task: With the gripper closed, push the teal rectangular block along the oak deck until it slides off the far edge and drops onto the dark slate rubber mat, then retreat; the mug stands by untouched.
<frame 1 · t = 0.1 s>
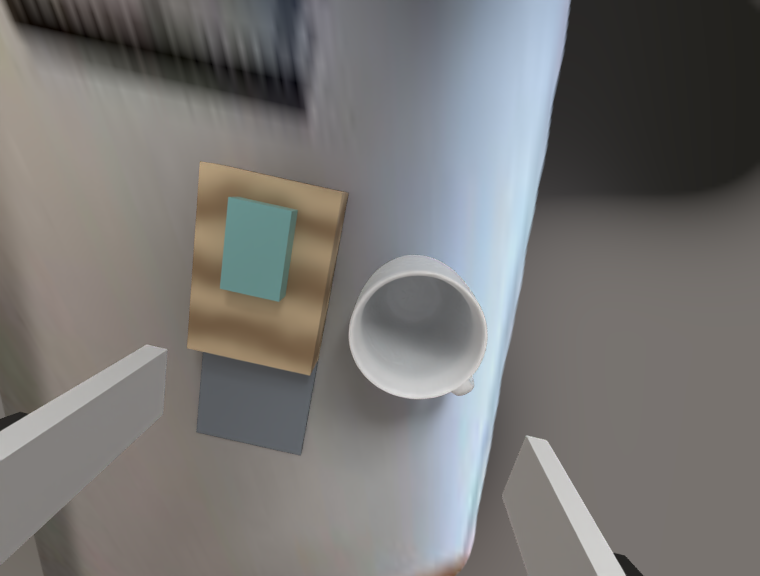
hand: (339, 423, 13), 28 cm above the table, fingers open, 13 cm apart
teal rectangular block: (262, 248, 36), point 4 cm above the table, touching deck
deck: (272, 268, 40), on the table
mat: (255, 396, 45), on the table
mug: (417, 299, 41), on the table
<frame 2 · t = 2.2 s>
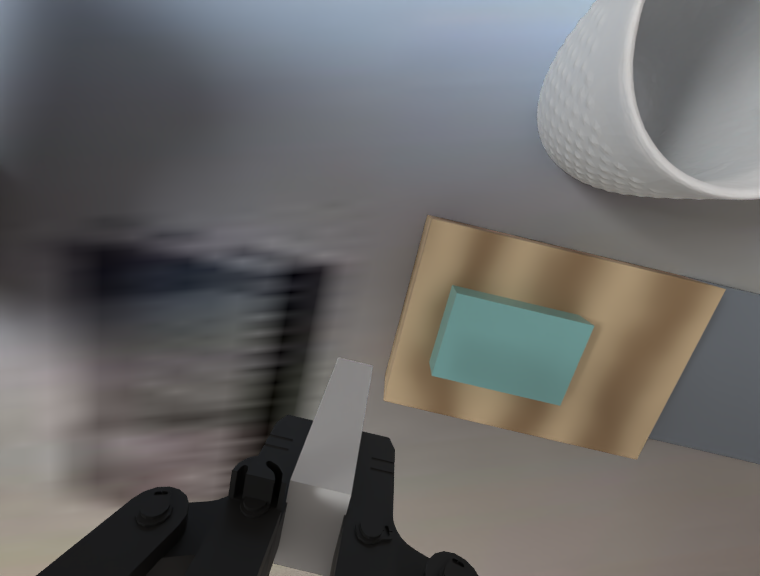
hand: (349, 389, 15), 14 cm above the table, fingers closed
teal rectangular block: (501, 339, 25), point 4 cm above the table, touching deck
deck: (523, 327, 29), on the table
mat: (722, 374, 29), on the table
mug: (604, 105, 25), on the table
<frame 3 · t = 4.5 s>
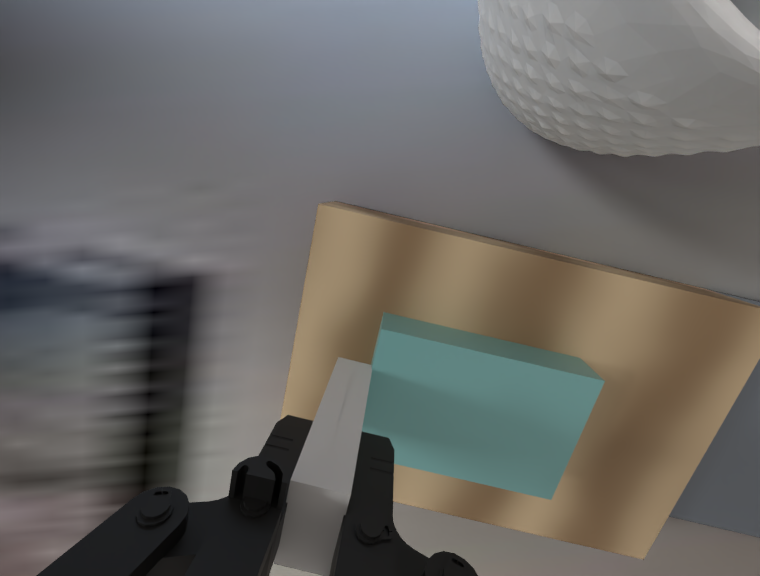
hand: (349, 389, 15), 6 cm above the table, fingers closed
teal rectangular block: (462, 392, 17), point 4 cm above the table, touching gripper
deck: (481, 362, 20), on the table
mug: (592, 31, 16), on the table
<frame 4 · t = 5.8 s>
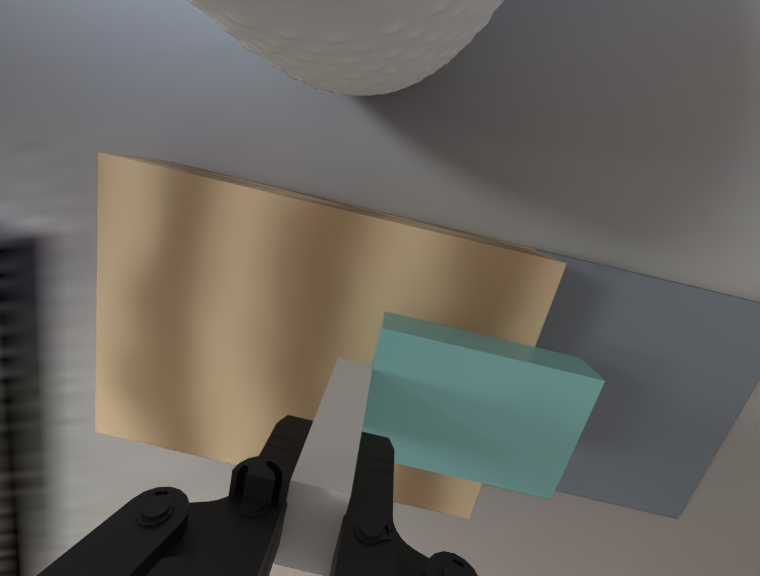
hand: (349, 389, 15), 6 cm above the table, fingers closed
teal rectangular block: (463, 392, 17), point 4 cm above the table, touching deck, gripper
deck: (323, 325, 20), on the table
mat: (608, 393, 21), on the table
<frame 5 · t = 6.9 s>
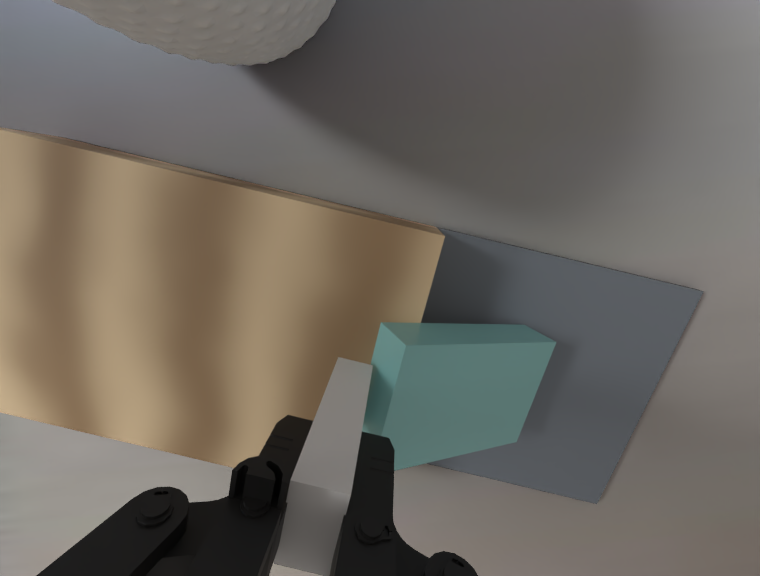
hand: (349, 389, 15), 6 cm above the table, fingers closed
teal rectangular block: (445, 378, 18), point 3 cm above the table, tilted 31°
deck: (233, 306, 20), on the table
mat: (522, 375, 20), on the table
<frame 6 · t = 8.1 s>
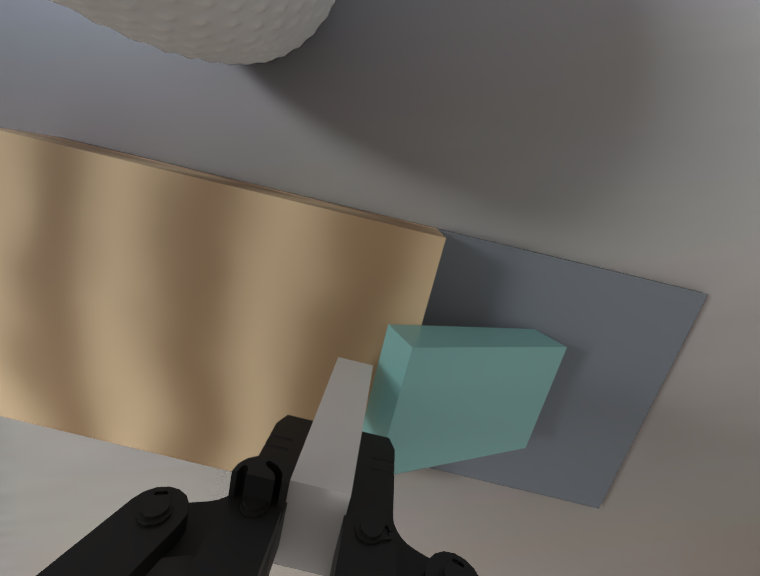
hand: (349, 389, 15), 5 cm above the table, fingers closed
teal rectangular block: (452, 381, 18), point 3 cm above the table, tilted 29°, touching deck, mat
deck: (232, 308, 20), on the table
mat: (523, 378, 20), on the table
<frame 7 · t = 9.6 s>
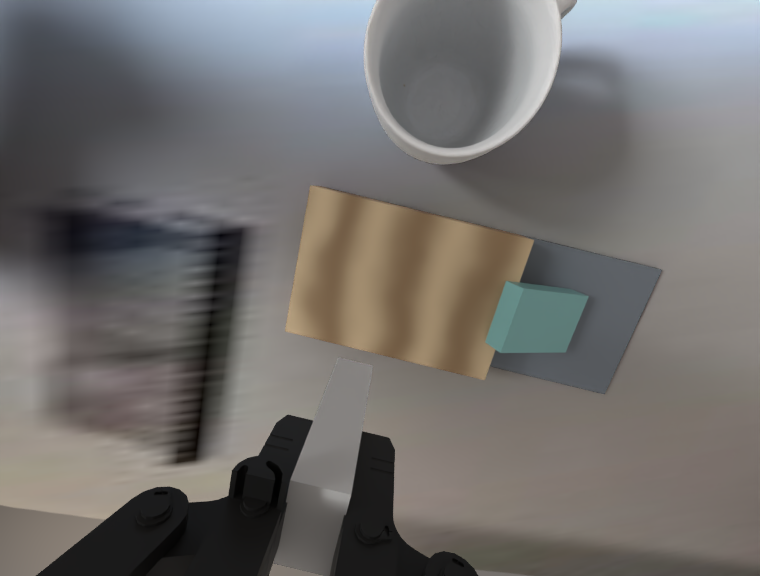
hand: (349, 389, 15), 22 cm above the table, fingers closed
teal rectangular block: (529, 314, 34), point 3 cm above the table, tilted 29°, touching deck, mat
deck: (402, 278, 36), on the table
mat: (563, 317, 36), on the table
mug: (448, 100, 32), on the table
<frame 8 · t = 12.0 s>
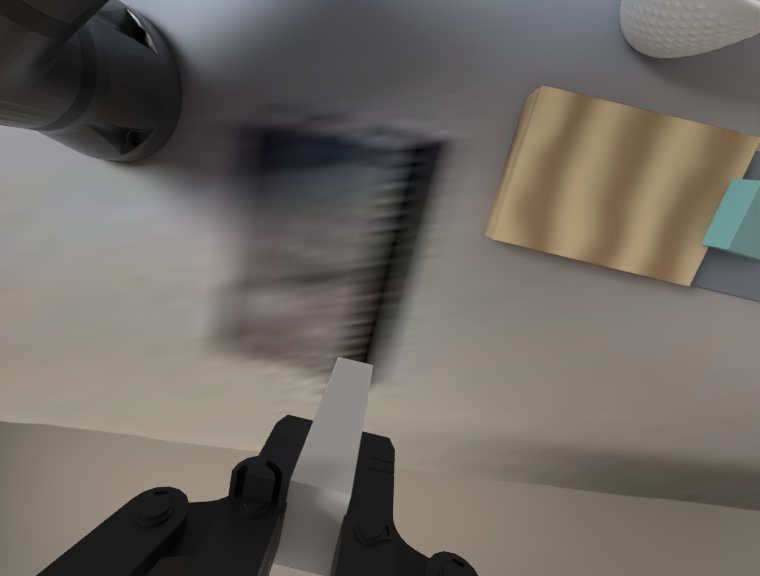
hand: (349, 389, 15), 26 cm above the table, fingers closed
teal rectangular block: (736, 220, 34), point 3 cm above the table, tilted 29°, touching deck, mat
deck: (597, 191, 37), on the table
mat: (755, 229, 37), on the table
mug: (667, 5, 33), on the table
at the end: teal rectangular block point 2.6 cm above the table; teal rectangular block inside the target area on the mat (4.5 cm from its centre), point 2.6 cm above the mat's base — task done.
